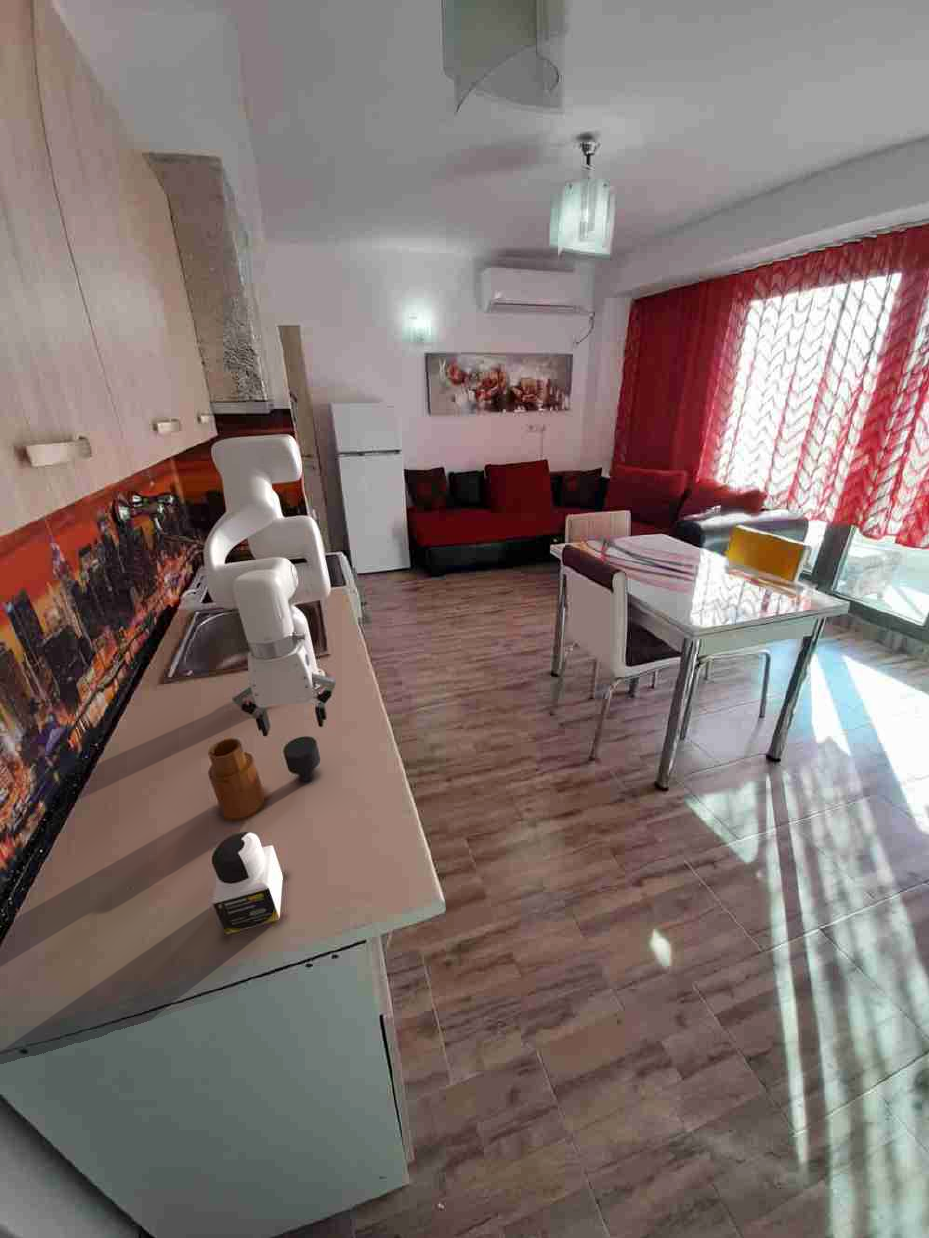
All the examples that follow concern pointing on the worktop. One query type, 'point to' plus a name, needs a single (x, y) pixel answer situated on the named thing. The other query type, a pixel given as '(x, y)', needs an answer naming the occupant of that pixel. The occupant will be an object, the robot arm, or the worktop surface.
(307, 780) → the stopper
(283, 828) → the worktop surface
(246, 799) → the amber bottle
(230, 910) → the medicine bottle
